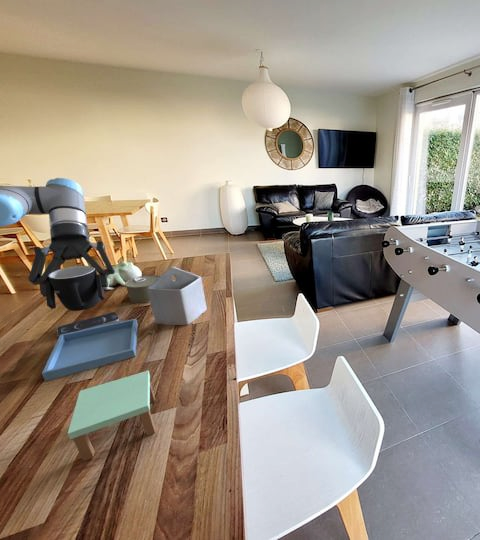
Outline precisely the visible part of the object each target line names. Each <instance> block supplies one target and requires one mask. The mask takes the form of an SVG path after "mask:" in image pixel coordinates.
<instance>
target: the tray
mask: <svg viewBox="0 0 480 540" xmlns="http://www.w3.org/2000/svg"><path fill="white" fill-rule="evenodd" d="M138 325H139V324H138V321H137V318H133V319H127V320H123V321H118V322H115V323H111V324H108V325H104V326H99V327H94V328H90V329H85V330H80V331H76V332H71V333H66V334H62V335H60V336H59V337H58V339H57V341H56V343H55V345H54V347H53V349H52V351H51V353H50V355H49V358H48V359H47V362H46V363H45V366H44V368H43V370H42V372H41V375H42V377H43V379H44V381H45V382H47V381H52V380H55V379H58V378H62V377H66V376H70V375H73V374H77V373H80V372H85V371H89V370H92V369H95V368H99V367H102V366H106V365H111V364H113V363H117V362H121V361H124V360H125V361H126V360H127V359H132V358H136V356H137V343H138V342H137V341H138V327H139V326H138Z"/></svg>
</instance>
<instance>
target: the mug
mask: <svg viewBox="0 0 480 540" xmlns="http://www.w3.org/2000/svg"><path fill="white" fill-rule="evenodd" d="M97 274H98V272H97V271H96V270H95V268H94V267H92V266H91V265H77V266H75V265H74V266H70V267H69V266H68V267H64V268H59V270H57V271H54V272H52V273H50V274H49V276H48V277H49V280H50V282H51V285H52V287H53V289H54V293H55V296H57V298H58V300H59V302H60V303H61V304H62V305H63V307H64V308H65V309H67V310H68V311H70V312H81V311H85V310H89V309H92V308H94V307H96V306H97V305H98V304H99V303H100V300H101V299H100V298H99V296H98V289H97V281H96V275H97Z"/></svg>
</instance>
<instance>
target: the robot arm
mask: <svg viewBox="0 0 480 540" xmlns="http://www.w3.org/2000/svg"><path fill="white" fill-rule="evenodd" d="M27 215H48V223H49V233H50V235H49V236H50V244H49V246H46V247H40V246H35V247H34V248H33V250H34V254H35V255H34V259H33V262H32V265H31V268H30V272H29V275H28V279H27V280H28V281H29V282H30V283H31V284H32V285H34V286H37V285H39V291H40V292H39V293H40V295H41V296H42V297H43V298H46V307H48V308H50V309H51V310H53V309H54V310H55V309H57V305H56V304H57V303H56V293H55V291H54V289H53V287H52V285H51V282H50V280H49V277H48V276H49V274H50V273H52V272H54V271H57V270H60V269H61V267H62V265H63V264H65V262H66V261H71V260H81V259H82V258H83V259H84V260H85V261H86V262H87V263H88V264H89V266H92V267H94V268H95V270H96V273H97V275H96V281H97V289H98V296H99V298H100V300H101V301H103V300H106V296H105V289H104V288H103V287H108V280H107V276H108V275H110V274H114V273H115V271H114V269H113V267H112V266H113V265H112V263H111V261H110V259H109V257H108V255H107V254H106V246H105V243H104V242H103V241H102V240H98V241H97V242H91V241H90V234H89V230H88V229H89V228H88V227H89V226H88V220H87V219H88V218H87V211H86V203H85V197H84V192H83V188H82V186H81V185H80V184H79V183H78V182H76V181H74V180H72V179H70V178H66V177H65V178H64V177H55V178H50V179H48V180H47V182H46V183H45V186H42V185H41V186H25V185H24V186H23V185H19V186H18V185H1V184H0V228H2V227H3V228H4V227H7V226H10V225H14V224H17V223H18V222H20V221H21V220H22V219H23V218H24V217H25V216H27ZM92 249H94V250H95V251H97V252H98V254H99V256H100V258H101V260H102V262H103V264H104V266H105V267H106V268H104V269H103V268H102V266H100V265H99V263H98V262H96V260H94V258H93V257H91V256H90V254H89V252H90V251H91V250H92ZM50 253H53V255H52V259H51V260H50V262H49V263H48V265H47V266H46V268H45V265H46V262H47V257H49V254H50ZM44 269H45V270H44Z"/></svg>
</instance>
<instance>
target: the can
mask: <svg viewBox="0 0 480 540" xmlns="http://www.w3.org/2000/svg"><path fill="white" fill-rule="evenodd" d="M160 276H161V275H157V274H147V275H142V276H140V277H136V278H133V279H131V280H129V281H127V282H125V285H124V286H125V287H126V291H127V294H128V297H129V300H130V302H132V303H138V304H141V303H143V304H144V303H149V302H150V299H149V295H148V291H147V288H148V287H149V286H150V285H151V284H152V283H153V282H154V281H155V280H156V279H157V278H159V277H160Z"/></svg>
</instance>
